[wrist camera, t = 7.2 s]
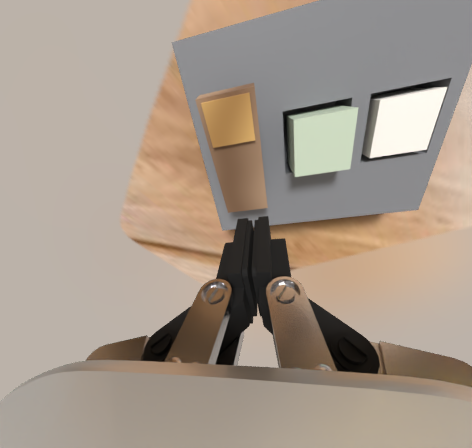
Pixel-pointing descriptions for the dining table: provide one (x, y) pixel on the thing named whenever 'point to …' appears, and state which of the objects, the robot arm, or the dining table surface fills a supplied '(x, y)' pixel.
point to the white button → (401, 121)
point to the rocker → (235, 145)
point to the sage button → (321, 140)
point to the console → (333, 94)
